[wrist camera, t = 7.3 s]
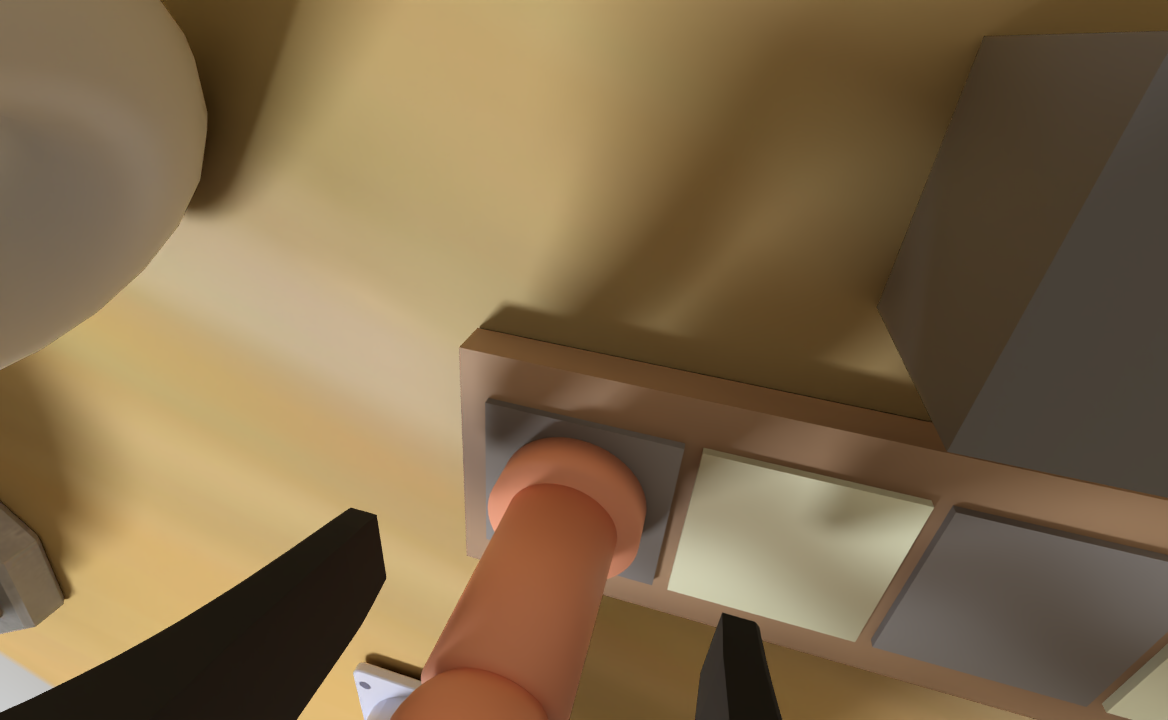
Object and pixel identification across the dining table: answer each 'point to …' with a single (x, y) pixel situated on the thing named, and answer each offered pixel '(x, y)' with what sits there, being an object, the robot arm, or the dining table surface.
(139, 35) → the donut
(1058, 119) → the die
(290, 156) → the dining table surface
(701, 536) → the track board
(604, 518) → the pawn
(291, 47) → the dining table surface
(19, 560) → the tankard
